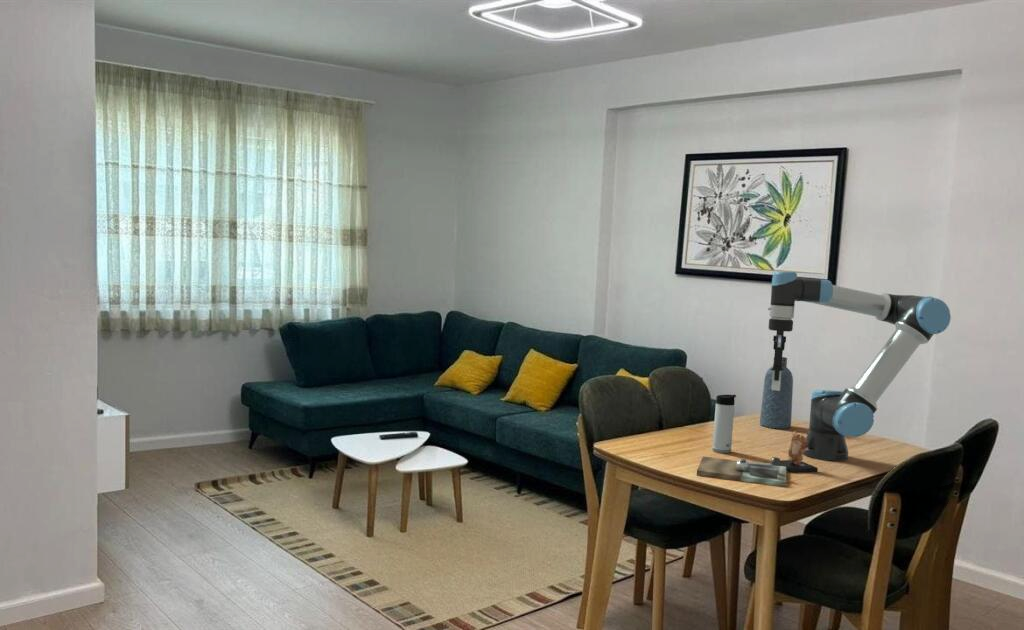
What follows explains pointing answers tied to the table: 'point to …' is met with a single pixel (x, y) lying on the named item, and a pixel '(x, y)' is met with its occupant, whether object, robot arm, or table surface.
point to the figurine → (797, 456)
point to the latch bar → (757, 464)
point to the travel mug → (723, 423)
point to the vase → (777, 400)
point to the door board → (741, 472)
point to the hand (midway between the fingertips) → (775, 390)
